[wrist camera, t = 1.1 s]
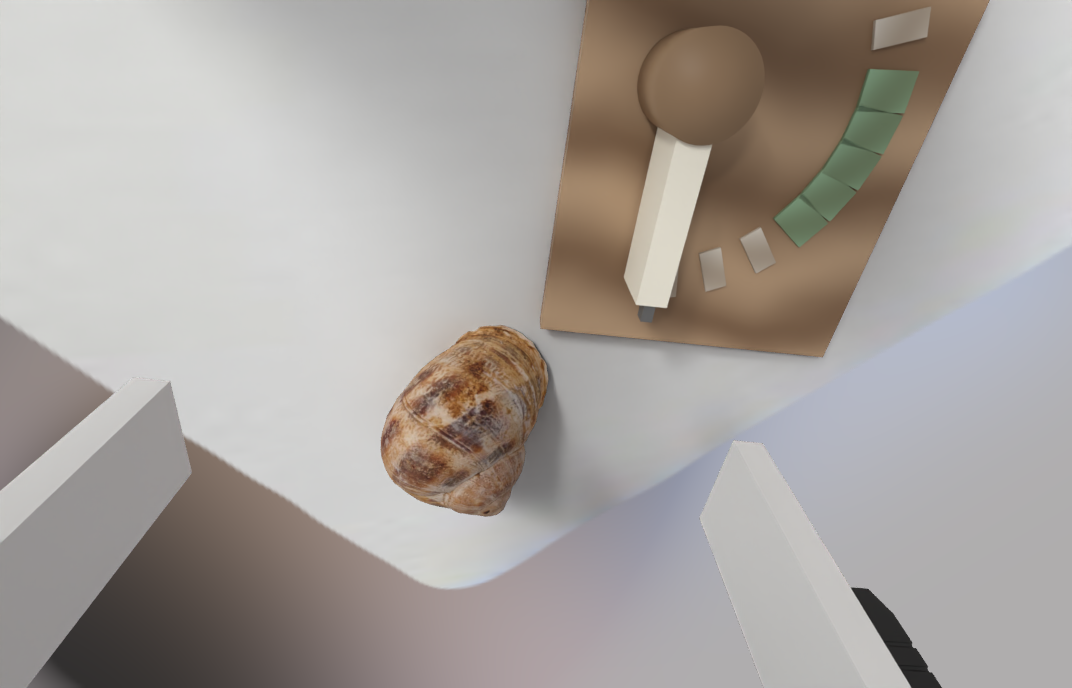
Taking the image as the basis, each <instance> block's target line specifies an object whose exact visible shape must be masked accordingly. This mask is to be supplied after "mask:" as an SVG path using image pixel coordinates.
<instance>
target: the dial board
mask: <svg viewBox="0 0 1072 688" xmlns="http://www.w3.org/2000/svg"><path fill="white" fill-rule="evenodd" d="M989 1H990V0H587V3H586V10H585V17H584V23H583V30H582V37H581V44H580V51H579V57H578V64H577V71H576V78H575V85H574V91H573V98H572V105H571V112H570V119H569V125H568V132H567V139H566V146H565V153H564V159H563V166H562V173H561V180H560V187H559V193H558V200H557V207H556V214H555V221H554V227H553V234H552V241H551V248H550V255H549V262H548V268H547V275H546V282H545V289H544V296H543V302H542V309H541V316H540V327H541V329H548V330H558V331H568V332H578V333H588V334H598V335H608V336H618V337H628V338H638V339H648V340H658V341H668V342H677V343H687V344H697V345H707V346H717V347H727V348H737V349H747V350H757V351H767V352H777V353H787V354H796V355H806V356H816V357H823V355H824V353H825V351H826V349H827V347H828V345H829V343H830V341H831V338H832V336H833V334H834V332H835V330H836V328H837V326H838V323H839V321H840V319H841V317H842V315H843V313H844V311H845V308H846V306H847V304H848V302H849V300H850V298H851V296H852V293H853V291H854V289H855V287H856V285H857V283H858V281H859V279H860V276H861V274H862V272H863V270H864V268H865V266H866V264H867V261H868V259H869V257H870V255H871V253H872V251H873V249H874V246H875V244H876V242H877V240H878V238H879V236H880V234H881V231H882V229H883V227H884V225H885V223H886V221H887V219H888V217H889V214H890V212H891V210H892V208H893V206H894V204H895V202H896V199H897V197H898V195H899V193H900V191H901V189H902V187H903V184H904V182H905V180H906V178H907V176H908V174H909V172H910V169H911V167H912V165H913V163H914V161H915V159H916V157H917V155H918V152H919V150H920V148H921V146H922V144H923V142H924V140H925V137H926V135H927V133H928V131H929V129H930V127H931V125H932V122H933V120H934V118H935V116H936V114H937V112H938V110H939V107H940V105H941V103H942V101H943V99H944V97H945V95H946V93H947V90H948V88H949V86H950V84H951V82H952V80H953V78H954V75H955V73H956V71H957V69H958V67H959V65H960V63H961V60H962V58H963V56H964V54H965V52H966V50H967V48H968V45H969V43H970V41H971V39H972V37H973V35H974V33H975V31H976V28H977V26H978V24H979V22H980V20H981V18H982V16H983V13H984V11H985V9H986V7H987V5H988V3H989ZM708 26H729V27H733V28H736V29H738V30H740V31H742V32H743V33H745V34H746V35H747V36H749V37H750V38H751V39H752V40H753V42H754V43H755V44H756V46H757V48H758V49H759V51H760V54H761V56H762V59H763V63H764V71H765V81H764V89H763V93H762V96H761V99H760V102H759V104H758V106H757V108H756V110H755V112H754V114H753V115H752V117H751V118H750V119H749V121H748V122H747V123H746V124H745V125H744V126H743V127H742V128H741V129H740V130H739V131H738V132H737V133H735V134H734V135H733V136H731V137H730V138H728V139H726V140H724V141H722V142H719V143H716V144H712V148H711V151H710V155H709V158H708V162H707V166H706V169H705V173H704V176H703V180H702V183H701V187H700V191H699V194H698V198H697V201H696V205H695V209H694V212H693V216H692V219H691V223H690V226H689V230H688V234H687V237H686V241H685V244H684V248H683V252H682V255H681V259H680V262H679V266H678V269H677V273H676V277H675V280H674V284H673V287H672V291H671V295H670V298H669V302H668V305H667V308H661V307H656V308H655V312H654V316H653V319H652V323H650V322H640V320H639V317H638V315H637V314H638V310H639V306H640V305H636V304H635V302H634V299H633V297H632V295H631V293H630V290H629V288H628V286H627V284H626V281H625V279H624V274H625V269H626V265H627V261H628V256H629V252H630V247H631V243H632V239H633V234H634V230H635V225H636V221H637V216H638V212H639V208H640V203H641V199H642V194H643V190H644V186H645V181H646V177H647V172H648V168H649V163H650V159H651V155H652V150H653V146H654V141H655V137H656V132H657V128H658V127H656V126H655V125H654V124H652V123H651V122H650V121H649V120H648V119H647V117H646V116H645V114H644V113H643V111H642V109H641V106H640V103H639V99H638V93H637V82H638V76H639V72H640V69H641V66H642V63H643V61H644V59H645V57H646V56H647V54H648V53H649V51H650V50H651V49H652V48H653V46H654V45H655V44H656V43H657V42H659V41H660V40H661V39H662V38H664V37H665V36H667V35H669V34H670V33H673V32H675V31H678V30H683V29H690V28H699V27H708Z"/></svg>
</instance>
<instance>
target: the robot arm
mask: <svg viewBox="0 0 1072 688" xmlns="http://www.w3.org/2000/svg"><path fill="white" fill-rule="evenodd" d="M191 473H192V471H191V467H190V463H189V459H188V455H187V450H186V446H185V443H184V438H183V434H182V429H181V425H180V421H179V417H178V412H177V408H176V404H175V400H174V396H173V391H172V387H171V383H170V381H164V380H155V379H145V378H136V377H133V378H132V379H131V380H130V381H128V382H127V383H126V384H125V385H124V386H123V387H121V388H120V389H119V390H118V391H117V392H115V393H114V394H113V395H112V396H111V397H110V398H108V399H107V400H106V401H105V402H104V403H103V404H101V405H100V406H99V407H98V408H97V409H96V410H94V411H93V412H92V413H91V414H90V415H89V416H87V417H86V418H85V419H84V420H83V421H82V422H80V423H79V424H78V425H77V426H76V427H75V428H73V429H72V430H71V431H70V432H69V433H68V434H66V435H65V436H64V437H63V438H62V439H61V440H59V442H57V443H56V444H55V445H54V446H53V447H51V448H50V449H49V450H48V451H47V452H46V453H44V454H43V455H42V456H41V457H40V458H38V459H37V460H36V461H35V462H34V463H33V464H31V465H30V466H29V467H28V468H27V469H26V470H24V471H23V472H22V473H21V474H20V475H19V476H17V477H16V478H15V479H14V480H13V481H12V482H11V483H9V484H8V485H7V486H6V487H5V488H3V489H2V490H1V491H0V688H26V687H27V686H28V685H29V684H30V682H31V681H32V680H33V678H34V677H35V676H36V674H37V673H38V672H39V671H40V669H41V668H42V667H43V665H44V664H45V663H46V661H47V660H48V659H49V658H50V656H51V655H52V654H53V652H54V651H55V650H56V648H57V647H58V646H59V645H60V643H61V642H62V641H63V639H64V638H65V637H66V635H67V634H68V633H69V632H70V630H71V629H72V628H73V626H74V625H75V624H76V622H77V621H78V620H79V619H80V617H81V616H82V615H83V613H84V612H85V611H86V609H87V608H88V607H89V606H90V604H91V603H92V602H93V600H94V599H95V598H96V597H97V595H98V594H99V593H100V591H101V590H102V589H103V587H104V586H105V585H106V584H107V582H108V581H109V580H110V578H111V577H112V576H113V574H114V573H115V572H116V571H117V569H118V568H119V567H120V565H121V564H122V563H123V561H124V560H125V559H126V558H127V556H128V555H129V554H130V552H131V551H132V550H133V548H134V547H135V546H136V544H137V543H138V542H139V541H140V539H141V538H142V537H143V535H144V534H145V533H146V532H147V530H148V529H149V528H150V526H151V525H152V524H153V522H154V521H155V520H156V518H157V517H158V516H159V514H160V513H161V512H162V510H163V509H164V508H165V507H166V506H167V504H168V503H169V502H170V500H171V499H172V498H173V496H174V495H175V494H176V493H177V491H178V490H179V489H180V487H181V486H182V485H183V484H184V482H185V481H186V479H187V478H188V477H189V476H190V474H191ZM699 519H700V521H701V524H702V527H703V529H704V532H705V534H706V537H707V540H708V543H709V545H710V548H711V551H712V553H713V556H714V558H715V561H716V564H717V566H718V569H719V572H720V574H721V577H722V580H723V582H724V584H725V587H726V590H727V593H728V595H729V598H730V601H731V603H732V606H733V609H734V611H735V614H736V617H737V619H738V622H739V625H740V627H741V630H742V632H743V635H744V638H745V640H746V643H747V646H748V648H749V651H750V654H751V656H752V659H753V662H754V664H755V667H756V670H757V672H758V675H759V678H760V680H761V683H762V686H763V688H942V687H941V686H940V684H939V683H938V681H937V680H936V678H935V677H934V675H933V674H932V673H930V672H929V671H928V669H927V667H928V666H927V664H926V663H925V661H924V660H923V658H922V657H921V655H920V654H919V652H918V651H917V649H916V648H913V647H912V641H911V640H910V638H909V637H908V635H907V634H906V632H905V631H904V629H903V628H902V626H901V625H900V623H899V622H898V620H897V619H896V617H895V616H894V614H893V613H892V612H891V611H890V610H889V609H888V608H887V607H886V606H885V605H884V604H883V603H882V602H881V601H880V600H879V599H878V598H877V597H876V596H875V595H874V594H873V593H872V592H871V591H870V590H869V589H863V588H851V587H850V586H849V584H848V583H847V581H846V580H845V578H844V576H843V575H842V573H841V571H840V570H839V568H838V566H837V565H836V563H835V562H834V560H833V558H832V557H831V555H830V553H829V551H828V550H827V548H826V547H825V545H824V543H823V542H822V540H821V538H820V537H819V535H818V533H817V532H816V530H815V529H814V527H813V525H812V524H811V522H810V520H809V519H808V517H807V515H806V514H805V512H804V510H803V509H802V507H801V505H800V504H799V502H798V501H797V499H796V497H795V496H794V494H793V492H792V491H791V489H790V487H789V486H788V484H787V482H786V481H785V480H784V477H783V476H782V474H781V473H780V471H779V469H778V468H777V466H776V464H775V463H774V461H773V460H772V458H771V456H770V454H769V453H768V451H767V450H766V448H765V446H764V445H763V443H754V442H745V441H736V440H733V442H732V444H731V447H730V449H729V452H728V454H727V456H726V458H725V460H724V463H723V465H722V467H721V470H720V472H719V474H718V476H717V479H716V481H715V483H714V485H713V488H712V490H711V492H710V495H709V497H708V499H707V502H706V504H705V506H704V508H703V511H702V513H701V515H700V517H699Z"/></svg>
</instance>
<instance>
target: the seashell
mask: <svg viewBox="0 0 1072 688" xmlns="http://www.w3.org/2000/svg"><path fill="white" fill-rule="evenodd" d="M547 385H548V373H547V365H546V363H545V361H544V360H543V359H542V358H541V355H540V353H539V352H538V351H537V349H536V347H535V346H534V344H533V342H532V341H530V340H529V339H528V338H526V337H525V336H524V335H523V334H521V333H520V332H518V331H516V330H514V329H511V328H509V327H506V326H503V325H499V326H483V327H479V328H478V329H476V330H475V331H469V332H467V333H466V334H464V335H463V336H461V337H460V338H459V339H458V341H457V342H456V343H455V345H453V346H452V347H451V348H450V349H448V350H446V351H445V352H443V353H441V354H440V355H438V356H437V357H435V358H434V359H433V360H432V361H431V362H429V363H428V364H427V365H426V366H425V367H423V368H422V369H421V370H420V371H419V373H418V374H417V375H416V376H415V377H414V378H413V379H412V381H411V382H410V383H409V385H408V386H407V387H406V388H405V390H404V391H403V392H402V394H401V395H400V396H399V397H398V398H397V400H396V402H395V404H394V405H393V407H392V409H391V410H390V412H389V414H388V415H387V419H386V422H385V425H384V428H383V431H382V437H381V456H382V460H383V463H384V466H385V469H386V471H387V473H388V475H389V476H390V478H391V479H392V480H393V482H394V483H395V484H397V485H398V486H399V487H401V488H402V489H403V490H404V491H406V492H407V493H408V494H410V495H411V496H413V497H414V498H416V499H418V500H420V501H422V502H425V503H428V504H431V505H435V506H439V507H445V508H450V509H452V510H454V511H456V512H458V513H465V514H470V515H480V516H493V515H497V514H499V513H500V512H501V511H502V510H503V509H504V507H505V504H506V502H507V501H508V499H509V497H510V494H511V489H512V487H513V486H514V484H515V482H516V481H517V479H518V477H519V475H520V474H521V471H522V468H523V464H524V459H525V449H524V445H523V444H524V443H525V442H526V440H527V438H528V436H529V434H530V432H531V431H532V429H533V427H534V425H535V423H536V420H537V415H538V411H539V409H540V408H541V407H542V405H543V402H544V397H545V394H546V390H547Z"/></svg>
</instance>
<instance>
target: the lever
mask: <svg viewBox="0 0 1072 688" xmlns="http://www.w3.org/2000/svg"><path fill="white" fill-rule="evenodd" d="M764 81H765V71H764V63H763V59H762V56H761V54H760V51H759V49H758V48H757V46H756V44H755V43H754V42H753V40H752V39H751V38H750V37H749V36H747V35H746V34H745V33H743V32H742V31H740V30H738V29H736V28H733V27H729V26H708V27H699V28H690V29H683V30H678V31H675V32H673V33H670V34H669V35H667V36H665V37H664V38H662V39H661V40H660V41H659V42H657V43H656V44H655V45H654V46H653V48H652V49H651V50H650V51H649V53H648V54H647V56H646V57H645V59H644V61H643V63H642V66H641V69H640V72H639V76H638V82H637V93H638V99H639V103H640V106H641V109H642V111H643V113H644V114H645V116H646V117H647V119H648V120H649V121H650V122H651V123H652V124H654V125H655V126H656V127H658V128H657V132H656V137H655V141H654V146H653V150H652V155H651V159H650V163H649V168H648V172H647V177H646V181H645V186H644V190H643V194H642V199H641V203H640V208H639V212H638V216H637V221H636V225H635V230H634V234H633V239H632V243H631V247H630V252H629V256H628V261H627V265H626V269H625V274H624V279H625V281H626V284H627V286H628V288H629V290H630V293H631V295H632V297H633V299H634V302H635V304H636V305H640V306H639V310H638V314H637V315H638V317H639V320H640V322H650V323H652V319H653V316H654V312H655V308H656V307H661V308H667V305H668V302H669V298H670V295H671V291H672V287H673V284H674V280H675V277H676V273H677V269H678V266H679V262H680V259H681V255H682V252H683V248H684V244H685V241H686V237H687V234H688V230H689V226H690V223H691V219H692V216H693V212H694V209H695V205H696V201H697V198H698V194H699V191H700V187H701V183H702V180H703V176H704V173H705V169H706V166H707V162H708V158H709V155H710V151H711V148H712V144H716V143H719V142H722V141H724V140H726V139H728V138H730V137H731V136H733V135H734V134H735V133H737V132H738V131H739V130H740V129H741V128H742V127H743V126H744V125H745V124H746V123H747V122H748V121H749V119H750V118H751V117H752V115H753V114H754V112H755V110H756V108H757V106H758V104H759V102H760V99H761V96H762V93H763V89H764Z"/></svg>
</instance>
